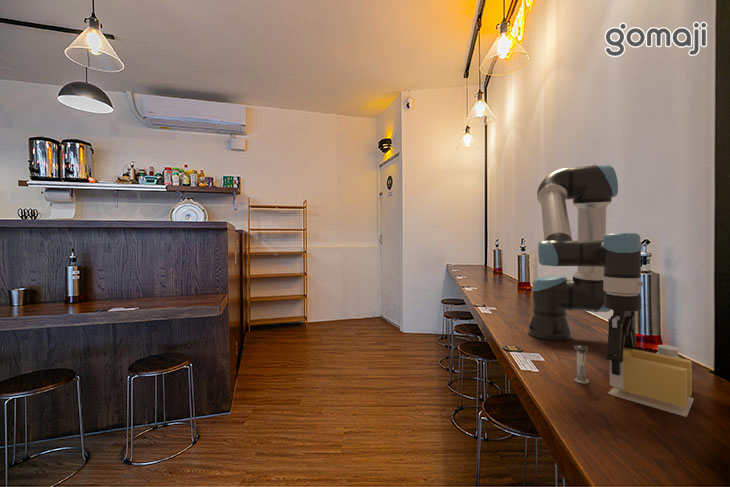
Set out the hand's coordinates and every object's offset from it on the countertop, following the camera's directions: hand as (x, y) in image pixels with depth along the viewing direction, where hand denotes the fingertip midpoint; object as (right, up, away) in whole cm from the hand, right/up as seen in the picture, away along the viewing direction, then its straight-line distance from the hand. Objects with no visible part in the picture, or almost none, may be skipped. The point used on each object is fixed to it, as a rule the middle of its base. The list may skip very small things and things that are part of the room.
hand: (622, 380), depth 84 cm
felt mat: (+4, -2, -4) cm, 6 cm away
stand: (-7, -2, +5) cm, 9 cm away
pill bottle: (+14, -2, +3) cm, 15 cm away
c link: (+4, -1, -4) cm, 6 cm away
